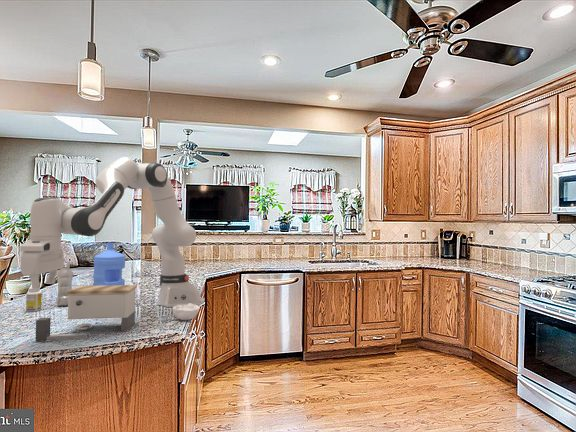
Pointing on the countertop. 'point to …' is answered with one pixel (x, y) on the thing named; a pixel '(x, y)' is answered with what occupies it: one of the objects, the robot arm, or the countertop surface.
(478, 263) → the countertop surface
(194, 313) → the bowl of rice
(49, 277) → the robot arm
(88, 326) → the steel token
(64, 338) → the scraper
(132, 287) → the low cabinet
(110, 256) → the water jug
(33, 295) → the supplement bottle
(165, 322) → the countertop surface
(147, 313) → the countertop surface
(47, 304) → the countertop surface
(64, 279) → the plastic bottle
